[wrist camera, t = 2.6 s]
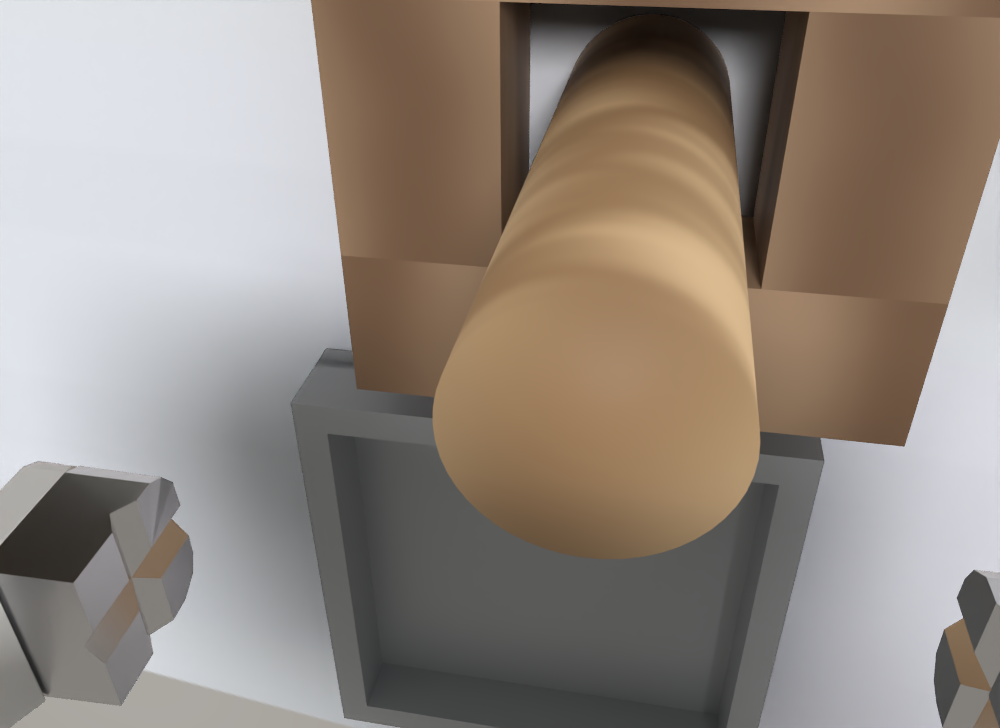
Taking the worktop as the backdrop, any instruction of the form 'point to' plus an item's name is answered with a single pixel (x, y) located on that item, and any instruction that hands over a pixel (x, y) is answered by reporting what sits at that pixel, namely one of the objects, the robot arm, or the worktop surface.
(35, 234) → the worktop surface
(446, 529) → the tray
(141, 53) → the worktop surface
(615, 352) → the dowel
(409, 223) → the holder
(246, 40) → the worktop surface
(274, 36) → the worktop surface
